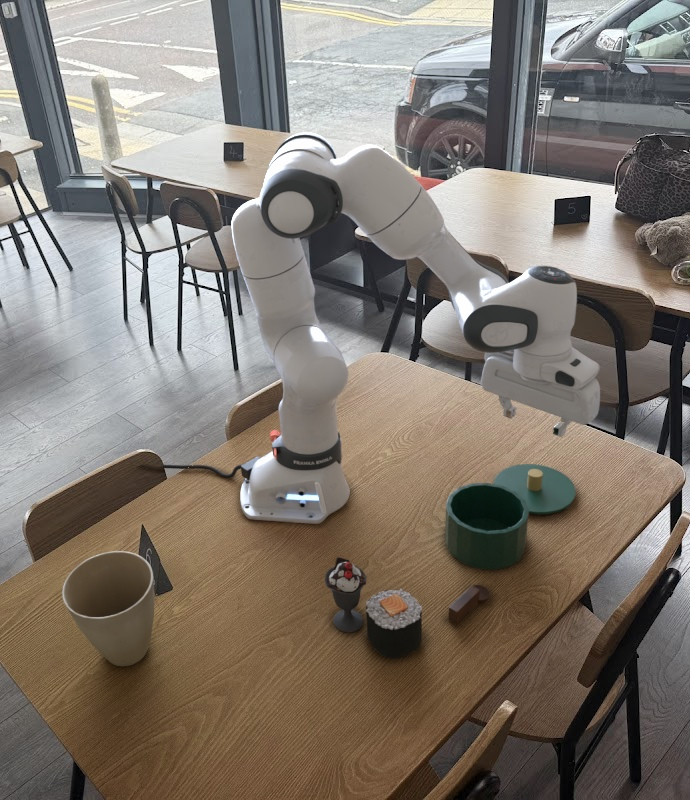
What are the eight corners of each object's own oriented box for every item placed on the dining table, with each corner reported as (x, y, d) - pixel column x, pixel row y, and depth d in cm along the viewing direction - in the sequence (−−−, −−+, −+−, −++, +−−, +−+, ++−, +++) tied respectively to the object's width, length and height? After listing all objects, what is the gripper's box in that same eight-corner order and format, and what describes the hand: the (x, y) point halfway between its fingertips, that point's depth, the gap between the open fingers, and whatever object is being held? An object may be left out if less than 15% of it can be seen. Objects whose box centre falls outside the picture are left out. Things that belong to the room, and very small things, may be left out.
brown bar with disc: (461, 627, 128) (462, 615, 127) (443, 617, 131) (443, 604, 129) (493, 595, 133) (494, 583, 131) (475, 585, 135) (476, 573, 134)
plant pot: (178, 618, 139) (163, 552, 130) (156, 689, 127) (137, 622, 118) (100, 612, 143) (80, 548, 134) (71, 680, 131) (47, 614, 122)
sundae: (359, 642, 129) (356, 576, 121) (322, 628, 132) (316, 564, 124) (374, 613, 133) (372, 548, 125) (337, 601, 137) (333, 537, 129)
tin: (453, 571, 139) (455, 535, 134) (439, 519, 150) (440, 485, 146) (534, 567, 137) (538, 531, 132) (513, 515, 148) (516, 480, 144)
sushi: (358, 631, 131) (356, 597, 127) (401, 612, 133) (401, 578, 129) (386, 666, 124) (385, 632, 120) (430, 645, 126) (431, 611, 122)
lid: (504, 519, 148) (505, 500, 145) (485, 471, 160) (486, 452, 157) (585, 514, 146) (589, 494, 143) (561, 466, 158) (563, 447, 155)
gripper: (476, 348, 139) (472, 413, 146) (590, 384, 125) (580, 454, 132) (495, 334, 142) (490, 398, 150) (609, 368, 128) (598, 436, 136)
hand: (533, 425), depth 141 cm, fingers open, 8 cm apart
